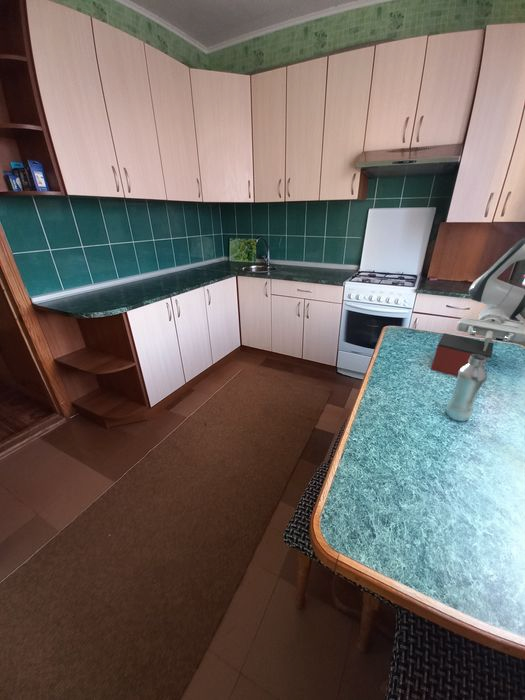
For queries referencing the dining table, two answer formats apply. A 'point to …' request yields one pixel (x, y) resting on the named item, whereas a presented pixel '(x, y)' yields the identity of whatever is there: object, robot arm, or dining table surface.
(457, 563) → the dining table surface
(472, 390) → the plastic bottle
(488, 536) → the dining table surface
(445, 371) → the red box
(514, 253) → the robot arm
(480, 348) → the box lid
